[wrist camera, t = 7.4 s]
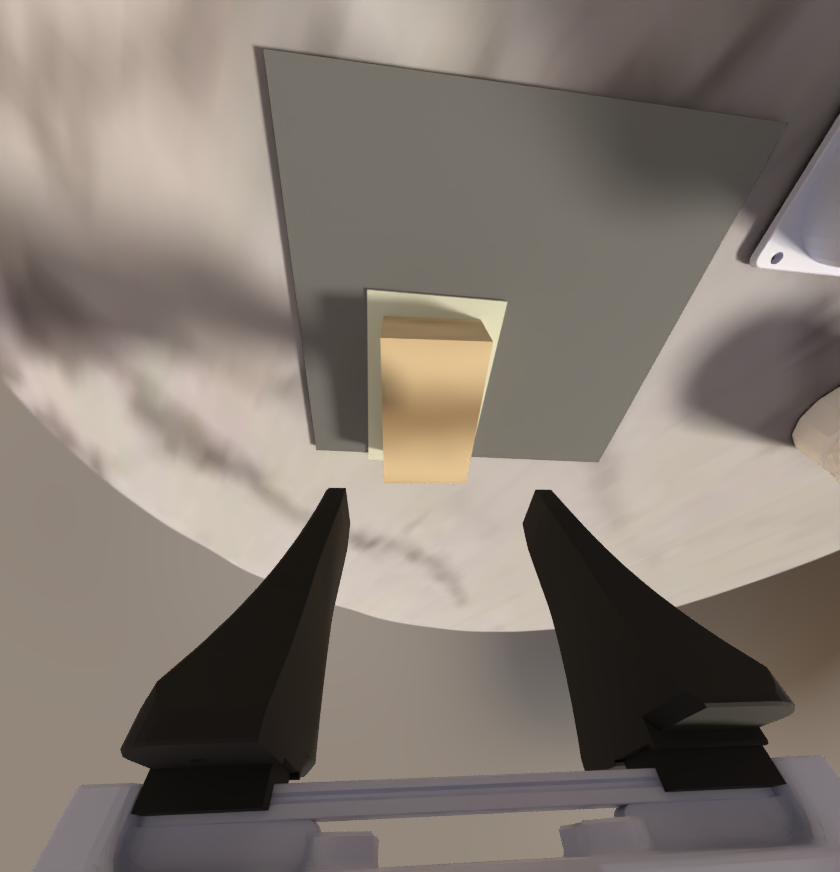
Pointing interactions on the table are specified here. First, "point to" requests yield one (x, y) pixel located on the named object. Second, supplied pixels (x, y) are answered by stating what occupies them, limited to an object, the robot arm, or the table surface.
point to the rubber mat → (497, 238)
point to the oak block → (431, 396)
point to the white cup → (821, 433)
